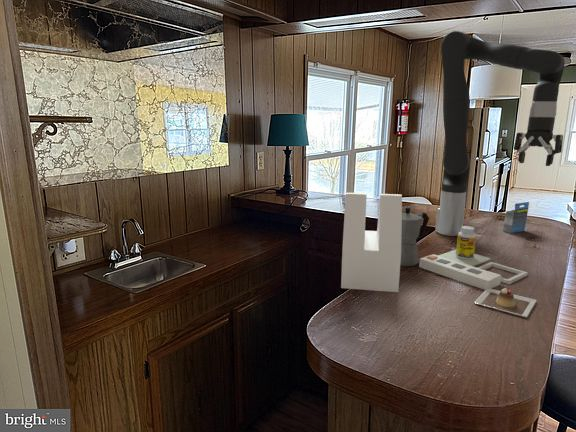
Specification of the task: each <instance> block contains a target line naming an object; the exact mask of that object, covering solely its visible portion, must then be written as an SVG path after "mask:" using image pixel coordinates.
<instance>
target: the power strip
mask: <svg viewBox="0 0 576 432" xmlns="http://www.w3.org/2000/svg"><path fill="white" fill-rule="evenodd" d="M418 264H419V266H418V268H420V269H424V270H426V271H430V272H432V273H434V274H435V273H436V274H438V275H441V276H444V277H447V278H450V279H451V280H452V279H453V280H455V281H459V282H461V283H464V284H467V285H469V286H472V287H475V288H478V289H481V290H484V291H485V290H486V289H488V288H490V289H495V288H496V287H498V286H500V285H501V282H500V281H501V277H502V275H501V274H499V273H497V272H496V273H495V272H492V271H489V270H487V269H485V270H483V269H480V268H478V267H476V266H474V267H473V266H470V265H467V264H463V263H460V262H457V261H454V260H451V259H447V258H444V257H441V256H438V255H437V254H434V253H433V254H430V255H426V256H423V257H421V258H419V262H418Z"/></svg>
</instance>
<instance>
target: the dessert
mask: <svg viewBox="0 0 576 432" xmlns="http://www.w3.org/2000/svg"><path fill="white" fill-rule="evenodd" d="M490 294H495V295H498V296H497V298H496V299H495V304H497V305H498V306H501V307H504V308H514V307H516V301H515V300H520V301H523V302H527V303H528V305H527V306H526V307H525V310H524V312H523V313H522V314H519V313H515V312H512V311H508V310H505V309H501V308H498V307H494V306H490V305H486V304H482V303H483V302H484V301H485V300H486V298H488V296H489V295H490ZM473 303H474V304H476V305H479V306H482V307H485V308H489V309H493V310H496V311H500V312H504V313H506V314H507V313H508V314H511V315H515V316H517V317H518V316H519V317H521V318H528V317H529V314H530V313H531V311H532V310H533V307H534V306H535V305H536V303H537V299H534V298H531V297H526V296H523V295H522V296H521V295H518V294H514V293H512V290H510V289H509V288H508V286H507V287H504V288H502V289H501V290H497V289H495V288H492V289H490V288H488V289H486V290H484V291H483V292H481V294H480V295H479V296H478V298H476V299H475V300H474V302H473Z"/></svg>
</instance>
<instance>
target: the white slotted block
mask: <svg viewBox="0 0 576 432" xmlns="http://www.w3.org/2000/svg"><path fill="white" fill-rule="evenodd" d="M379 194H380V195H379V203H378V204H379V205H378V214H377V215H378V217H377V228H376V230H366V217H367V195H368V194H367V193H365V192H346V193H345V198H344V199H345V200H344V202H345V203H344V219H343V220H344V221H343V233H342V250H341V251H342V256H341V281H340V283H341V284H340V288H341V289H351V290H365V291H374V292H375V291H378V292H387V293H388V292H391V293H399V286H400V274H401V265H400V262H401V230H402V213H403V196H402V195H403V194H398V193H397V194H396V193H394V194H393V193H391V194H390V193H379Z"/></svg>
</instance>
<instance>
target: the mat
mask: <svg viewBox="0 0 576 432" xmlns="http://www.w3.org/2000/svg"><path fill="white" fill-rule="evenodd" d="M438 256H441V257H444V258H447V259H451V260H454V261H457V262H460V263H463V264H467V265H470V266H473V267H476V266H480V265H481V264H483V263H487V262H489V261H491V259H492V258H490V257H488V256H483V255H480V254H477V253H474V257H473V258H472V259H461V258H458V257H457V256H456V249H453V250H450V251H447V252H445V253H441V254H439V255H438Z"/></svg>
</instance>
